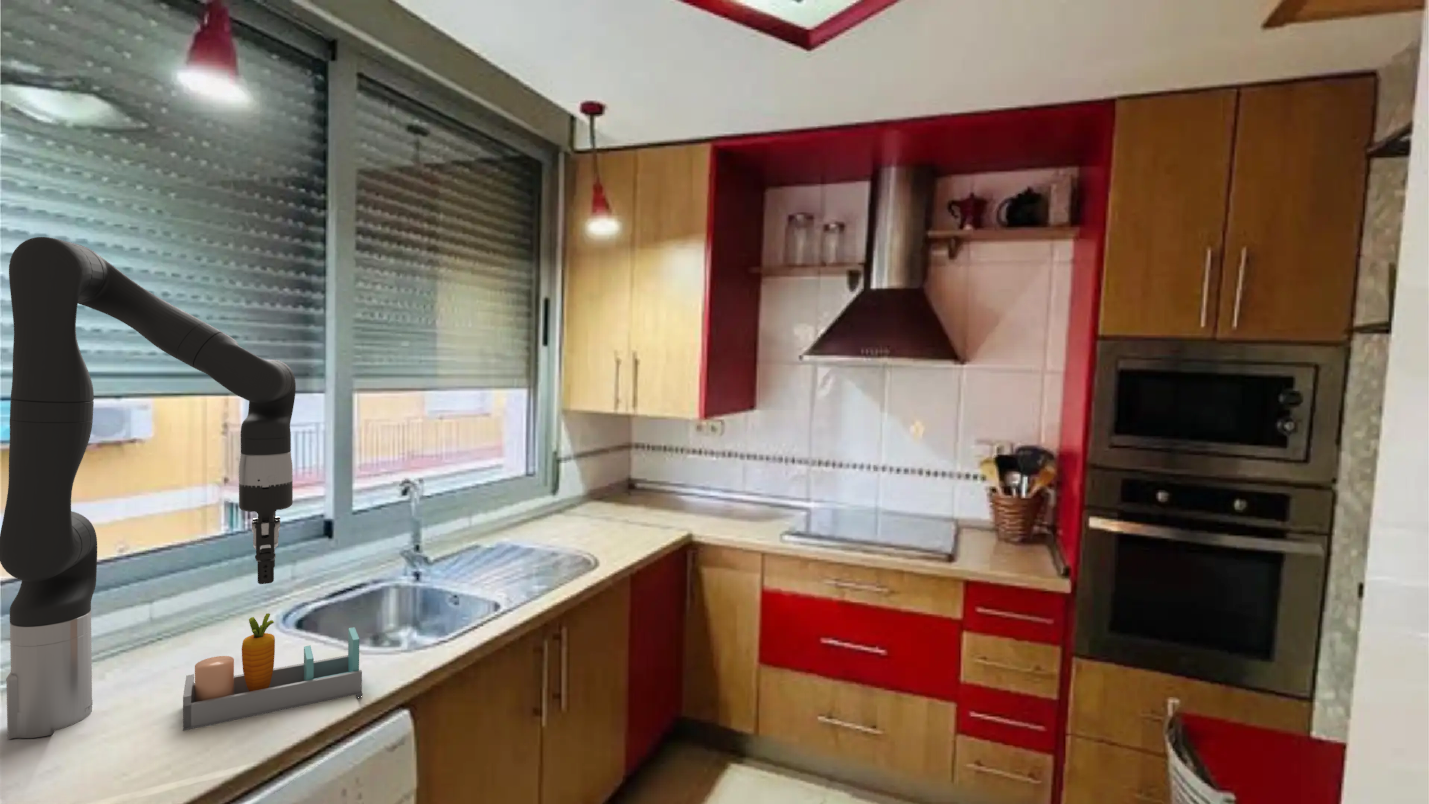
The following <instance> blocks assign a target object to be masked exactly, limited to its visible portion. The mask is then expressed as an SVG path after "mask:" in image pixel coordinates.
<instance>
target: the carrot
mask: <svg viewBox="0 0 1429 804" xmlns="http://www.w3.org/2000/svg"><path fill="white" fill-rule="evenodd" d="M270 617H271V613H266V614H265V616H264V617H263V619H262V623H261V625H259V623H258V621H257V619H256V618H255V617H254V616H250V618H249V619H248V624H249V626H250V629H251V632H252V633H253V634H251V635H249V636H247V637H245V638H244V639H243V640H242V645H241V660H242V661H241V662H242V671H243V674H244V677H245V681H246V685H247V688H248V690H249V692H250V691H256V690H261V689H266V688H269V685H270V683H271V678H272V673H273V669H274V667H275V653H276V652H275V651H276V650H275V649H276V638H275V635H274V634H272V633H268V632H266V631H267V629H268V628H269V627H270V625H273V624H274V623H275V622H274V620H272V619H271V620H269V618H270Z"/></svg>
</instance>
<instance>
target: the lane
mask: <svg viewBox="0 0 1429 804" xmlns="http://www.w3.org/2000/svg"><path fill="white" fill-rule="evenodd" d="M345 672H348V654H347V655H342V656H336V657H331V658H330V657H329V658H326V659H319V660H314V673H313V679H312V680H307V681H304V662H303V663H302V662H301V663H298V664H292V665H287V666H286V665H285V666H281V667H275V668H274V667H273V673H272V678H271V683H270V685H269V688H266V689H261V690H256V691H250V692H249V690H248V688H247V685H246V681H245V677H244V673H243V674H236V675H234V695H230V696H225V697H219V698H214V699H209V700H204V701H199V702H195V673H193V674H188V675H186V676H185V682H184V683H185V684H184V687H183V688H184V690H183V695H182V731H183V732H185V731H189V730H194V729H199V728H204V727H208V726H214V725H218V724H222V723H227V722H232V721H237V720H242V719H247V718H251V717H256V716H260V715H265V714H270V713H274V712H275V713H276V712H279V711H280V712H281V711H283V710H284V711H285V710H289V709H293V708H299V707H303V706H307V705H312V704H317V703H323V702H326V701H331V700H332V701H333V700H336V699H341V698H346V697H351V696H354V695H355V698H356V699H359V698H358V697H361V696H362V697H363V671H362V670H361V669H359V671H354V672H349V673H345ZM340 673H343V674H340ZM335 674H338V675H335ZM330 675H333V676H330ZM325 676H328V677H325ZM319 677H323V678H319ZM314 678H318V679H314Z"/></svg>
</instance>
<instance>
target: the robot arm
mask: <svg viewBox="0 0 1429 804" xmlns="http://www.w3.org/2000/svg"><path fill="white" fill-rule="evenodd" d="M8 279H9V280H8V282H9V291H10V300H11V301H10V302H11V309H12V310H11V311H12V318H13V319H12V321H13V347H12V382H11V389H10V406H9V449H8V484H7V485H8V486H7V494H6V502H5V507H4V508H5V509H4V512H3V518H2V523H1V528H0V565H1V566H2V568H3V569H4V570H5V572H6V573H7V574H9V575H10V576H12V577H13V578H15V579H18V580H20V581H21V584H20V587H19V590H18V592H17V594H16V596H15V598H14V599H13V601H12V603H11V604H10V607H9V641H10V642H9V643H10V645H9V646H10V648H9V649H10V653H9V654H10V672H9V674H8V675H7V677H6V678H5V679H6V717H7V718H6V724H7V725H6V726H7V727H6V734H7V735H6V736H7V739H8V740H10V739H11V740H12V739H17V738H21V739H22V738H23V739H33V738H41V737H47V736H51V735H54V733H55V731H58V730H61V729H64V728H67V727H70V726H73V725H75V724H77V723H80V722H82V721H83V720H85V719H86V718H88V717H89V716H91V713H92V712H93V666H92V662H93V661H92V660H93V659H92V658H93V657H92V654H93V653H92V599H93V596H94V592H95V590H96V587H97V571H98V539H97V538H98V537H97V533H96V530H95V527H94V526H93V525H94V524H92V522H91V521H90V520H89V519H88V518H87V517H85V516H84V515H83V514H80V513H78V512H75V511H72V493H73V486H74V482H75V478H76V475H77V473H78V470H79V468H80V465H81V463H82V460H83V459H84V456H85V453H86V450H87V448H88V445H89V442H90V438H91V434H92V430H93V428H92V427H93V422H94V421H93V420H94V419H93V418H94V399H95V396H94V385H93V381H92V379H91V378H92V377H91V376H90V375H91V374H90V372H89V369H88V367H87V364H86V362H85V359H84V358H83V355H82V352H81V350H80V346H79V343H78V339H77V327H76V326H77V325H76V324H77V313H78V312H77V311H78V304H79V305H81V306H84V307H86V308H89V309H92V310H95V311H97V312H100V313H102V314H106V315H108V316H109V317H111V318H112V317H113V318H114V319H117V320H118V321H120V322H122V323H123V324H125V325H127V326H128V327H130V328H131V329H133V330H134V331H136V332H137V333H138V334H139V335H141V336H142V337H143V338H144V339H146V340H147V341H148V342H149V343H151V344H152V345H154V346H155V347H157V348H158V349H159V350H161V351H163V352H164V353H165V354H167V355H170V356H171V357H173V358H174V359H177V360H178V361H180V362H182V363H184V364H186V365H187V366H190V368H193V369H195V370H197V371H199V372H201V373H203V374H206V375H207V376H209V377H210V378H211V379H212V380H214V381H215V382H216V383H218V384H219V385H220V386H222V387H223V388H225V389H226V390H228V391H229V392H231V393H233V394H234V395H236V396H238V397H239V398H242V399H244V400H246V401H248V411H247V416H246V418H245V419H244V420H243V421H242V423H241V427H240V435H239V437H240V458H239V465H238V508H239V509H240V510H242V512H243V511H244V512H248V513H249V512H250V513H253V512H255V513H256V514H257V518H255V517H254V518H252V521H251V532H252V535H253V540H252V541H253V542H252V543H253V544H252V546H253V548H254V550H255V555H254V559H255V561H256V563H257V583H258V584H259V585H267V584H272V583H273V582H274V581H275V580H274V579H275V566H276V555H277V554H276V548H277V547H278V546H279V537H280V535H279V534H280V530H281V516H276V514H277V513H276V512H277V511H278V510H285V509H288V508H290V507H291V506H293V503H294V501H293V499H294V498H293V496H294V495H293V491H294V490H293V489H294V488H293V487H294V486H293V480H294V479H293V474H294V473H293V460H292V453H291V452H292V451H291V450H292V449H291V447H292V443H291V442H292V439H291V438H292V435H291V421H292V416H293V412H294V406H295V401H296V400H295V398H296V391H297V390H296V378H295V373H294V372H293V370H292V368H291V367H290V366H289V365H288V364H286V363H285V362H283V361H281V360H278V359H272V358H271V359H264V358H262V357H260V356H258V355H256V354H254V353H252V352H251V351H249V350H247V349H245V348H244V347H242V346H240V345H239V342H238V341H237V340H236V339H234V338H233V337H231V336H230V335H228V334H227V333H225V332H223V331H222V330H220V329H218V328H216V327H215V326H212V325H210V324H209V323H207V322H205V321H204V320H201V318H200V319H199V318H197V317H196V316H195V315H192V314H190V313H188V312H186V311H184V310H183V309H181V308H179V307H177V306H175V305H172V304H171V303H169V302H168V301H165V300H164V299H162V298H160V297H158V296H157V295H155V294H154V293H152V292H150V291H149V290H147V289H146V288H144V287H143V286H141V285H140V284H138V283H137V282H135V281H134V280H133V279H131V278H130V277H129V276H127V275H126V274H124V273H123V272H122V271H120V269H118V268H116V267H115V266H114V265H112V264H111V263H110V262H109V261H108V260H106V259H105V258H103V257H102V256H101V255H99V254H98V253H97V252H95V251H94V250H93V249H91V248H89V247H87V246H84V245H81V244H77V243H74V242H70V241H66V240H62V239H59V238H54V237H47V236H37V237H32V238H29V239H26V240H24V241H23V242H21V243H20V244H19V245H18V246H17V247H16V248H14V251H13V253H12V254H11V257H10V260H9V265H8Z"/></svg>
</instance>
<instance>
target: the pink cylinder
mask: <svg viewBox="0 0 1429 804" xmlns="http://www.w3.org/2000/svg"><path fill="white" fill-rule="evenodd" d="M234 676H235V658H234V657H233V656H229V655H217V656H211V657H208V658H205V659H202V660H200V661H198V662H197V663H195V665H194V683H195V702H199V701H204V700H209V699H214V698H219V697H225V696H230V695H234Z"/></svg>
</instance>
